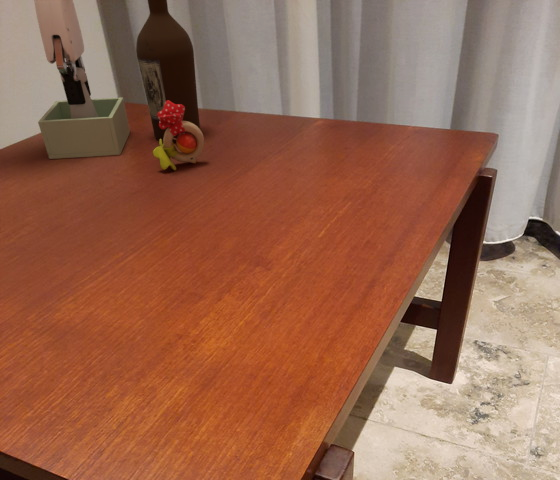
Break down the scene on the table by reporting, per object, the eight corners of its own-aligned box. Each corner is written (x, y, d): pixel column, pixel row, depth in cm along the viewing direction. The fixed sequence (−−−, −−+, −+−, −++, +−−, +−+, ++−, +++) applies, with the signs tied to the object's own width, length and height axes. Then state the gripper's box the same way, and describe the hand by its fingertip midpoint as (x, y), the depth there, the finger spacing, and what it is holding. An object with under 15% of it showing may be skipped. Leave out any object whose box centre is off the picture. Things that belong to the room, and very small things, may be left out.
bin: (49, 159, 106) (37, 121, 101) (65, 135, 116) (55, 101, 112) (120, 155, 106) (112, 117, 102) (130, 132, 117) (123, 97, 112)
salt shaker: (110, 137, 112) (94, 65, 104) (96, 146, 108) (78, 72, 99) (85, 135, 113) (67, 64, 105) (69, 144, 109) (49, 71, 101)
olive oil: (183, 123, 120) (163, -18, 103) (213, 134, 114) (197, -14, 97) (141, 135, 114) (113, -10, 98) (171, 147, 108) (146, -6, 92)
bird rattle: (191, 168, 105) (144, 155, 101) (208, 108, 99) (158, 92, 95) (197, 180, 101) (148, 167, 97) (215, 118, 95) (163, 102, 91)
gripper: (41, -21, 100) (70, 89, 112) (13, -8, 87) (49, 114, 99) (83, -23, 100) (107, 87, 112) (61, -11, 87) (91, 112, 99)
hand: (79, 99), depth 106 cm, fingers closed on salt shaker, 4 cm apart
